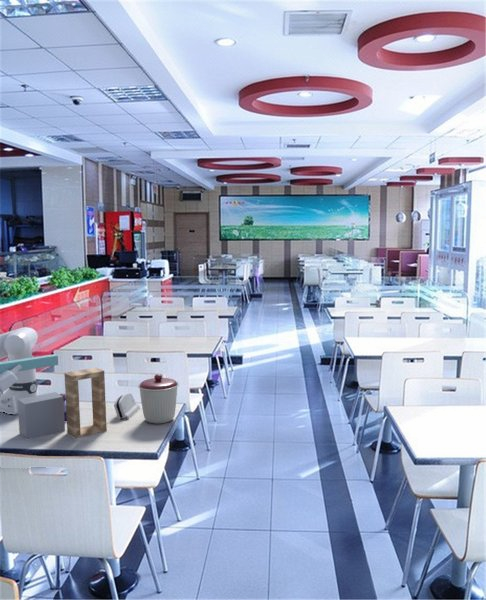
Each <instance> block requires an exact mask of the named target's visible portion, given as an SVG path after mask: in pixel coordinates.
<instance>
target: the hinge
mask: <svg viewBox="0 0 486 600" xmlns="http://www.w3.org/2000/svg"><path fill="white" fill-rule="evenodd" d="M136 402H137V401H136V400H135V398H134V396H133V394H132V393H124V394H123V395H120V396H119V397H118V398H116V399H115V401H114V404H113V407H114V410H115V414H116V416H117V419H118V420H121V419H124V418H125V419H127V420H128V419H129V418H130V419H132V418H133V417H134V416H135V414H136V413H138V412H139V411H140V410H141V406H140V404H138V403H136ZM139 409H140V410H139ZM138 410H139V411H138ZM130 419H129V420H130Z"/></svg>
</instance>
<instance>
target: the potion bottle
mask: <svg viewBox="0 0 486 600" xmlns="http://www.w3.org/2000/svg"><path fill="white" fill-rule="evenodd" d="M59 394H60V395H61V396H63V400H64V420H65V421H66V422H67V415H66V395H65V393H59Z"/></svg>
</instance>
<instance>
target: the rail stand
mask: <svg viewBox="0 0 486 600" xmlns="http://www.w3.org/2000/svg"><path fill="white" fill-rule="evenodd" d="M63 374H64V389H65V391H64V392H65V393H64V394H65V396H66V401H65V403H66V415H67V421H66V431H67V434H68V435H69V436H71V437H72V438H74V439H77V438H83V437H86V436H90V435H94V434H95V435H96V434H99V433H103V432H107V430H108V429H107V427H108V426H107V408H106V407H107V405H106V404H107V403H106V402H107V401H106V380H105V376H106V375H105V370H103V369H101V368H98V367H91V368H86V369H78V370H73V371H68V372H64V373H63ZM86 379H91V380H90V381H91V383H90V384H91V386H90V387H91V406H92V424H91V425H87V426H82V427H81V415H80V414H81V413H80V411H81V410H80V391H79V390H80V389H79V381H82V380H86Z"/></svg>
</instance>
